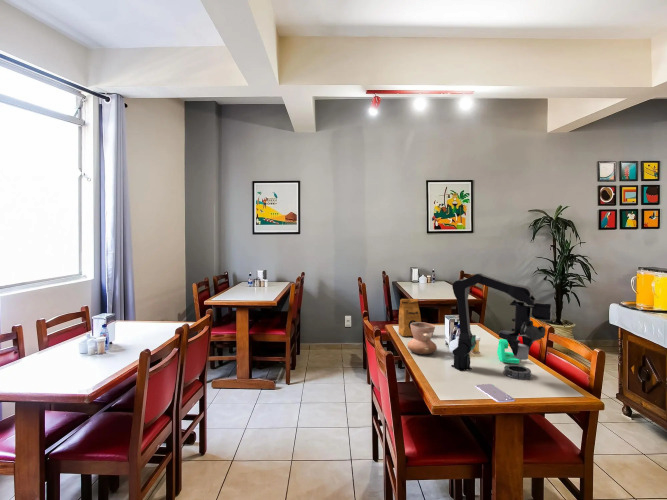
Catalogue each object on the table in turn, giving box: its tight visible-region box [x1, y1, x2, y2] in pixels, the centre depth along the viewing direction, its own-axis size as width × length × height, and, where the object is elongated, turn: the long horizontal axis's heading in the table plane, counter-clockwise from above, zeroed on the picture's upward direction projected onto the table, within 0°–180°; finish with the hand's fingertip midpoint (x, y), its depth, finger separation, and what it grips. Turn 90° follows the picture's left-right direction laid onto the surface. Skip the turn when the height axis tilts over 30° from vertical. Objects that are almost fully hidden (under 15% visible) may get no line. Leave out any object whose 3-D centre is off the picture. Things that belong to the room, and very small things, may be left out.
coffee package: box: [398, 298, 422, 337], centre depth 222 cm, size 10×12×22 cm
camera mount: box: [496, 338, 520, 364], centre depth 179 cm, size 12×8×10 cm, turn 166°
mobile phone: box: [474, 383, 516, 403], centre depth 141 cm, size 8×1×15 cm
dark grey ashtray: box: [502, 364, 533, 381], centre depth 160 cm, size 11×11×3 cm
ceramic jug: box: [407, 321, 438, 355], centre depth 190 cm, size 18×14×14 cm
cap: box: [513, 343, 530, 361], centre depth 153 cm, size 5×5×5 cm
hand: (520, 354), depth 153 cm, fingers closed on cap, 5 cm apart
